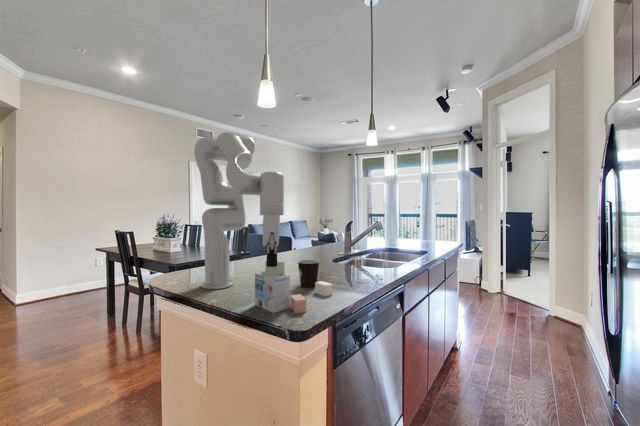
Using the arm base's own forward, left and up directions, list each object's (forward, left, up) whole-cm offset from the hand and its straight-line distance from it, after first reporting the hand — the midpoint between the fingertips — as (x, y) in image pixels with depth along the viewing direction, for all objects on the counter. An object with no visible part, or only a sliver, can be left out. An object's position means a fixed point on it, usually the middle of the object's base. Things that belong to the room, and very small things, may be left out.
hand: (271, 263), depth 99 cm
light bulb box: (0, 0, -14) cm, 14 cm away
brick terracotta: (+4, +8, -14) cm, 17 cm away
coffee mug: (-25, +15, -14) cm, 32 cm away
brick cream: (-12, +19, -14) cm, 27 cm away
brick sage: (0, +1, -3) cm, 3 cm away
